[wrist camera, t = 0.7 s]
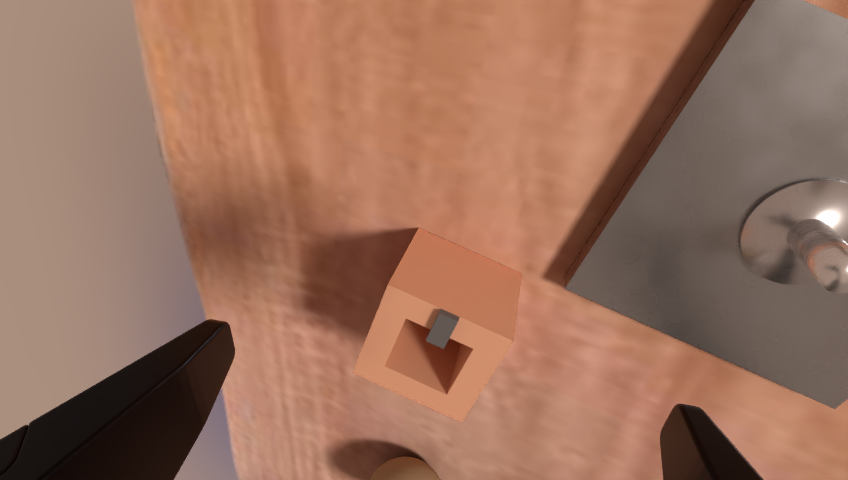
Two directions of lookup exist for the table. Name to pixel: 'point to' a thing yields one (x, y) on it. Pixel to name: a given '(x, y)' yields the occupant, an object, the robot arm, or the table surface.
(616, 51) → the table surface
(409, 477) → the beige rounded piece
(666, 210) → the grey square base plate
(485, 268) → the hollow block with latch
